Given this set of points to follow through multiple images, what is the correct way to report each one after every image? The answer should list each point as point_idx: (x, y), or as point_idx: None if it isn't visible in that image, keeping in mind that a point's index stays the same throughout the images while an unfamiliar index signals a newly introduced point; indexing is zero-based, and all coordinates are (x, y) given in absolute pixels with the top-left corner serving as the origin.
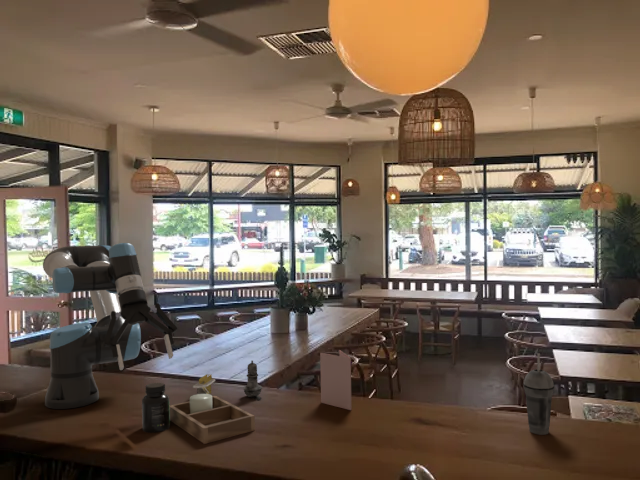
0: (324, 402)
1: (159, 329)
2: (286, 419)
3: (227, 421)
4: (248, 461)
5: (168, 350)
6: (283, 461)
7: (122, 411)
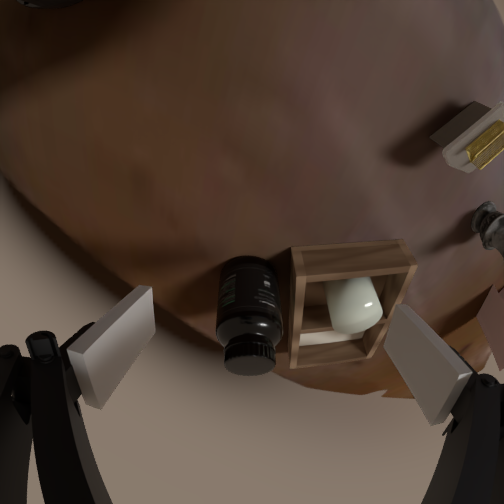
0: (491, 289)
1: (459, 442)
2: (426, 315)
3: (330, 362)
4: (305, 373)
5: (401, 351)
6: (329, 378)
7: (202, 88)
